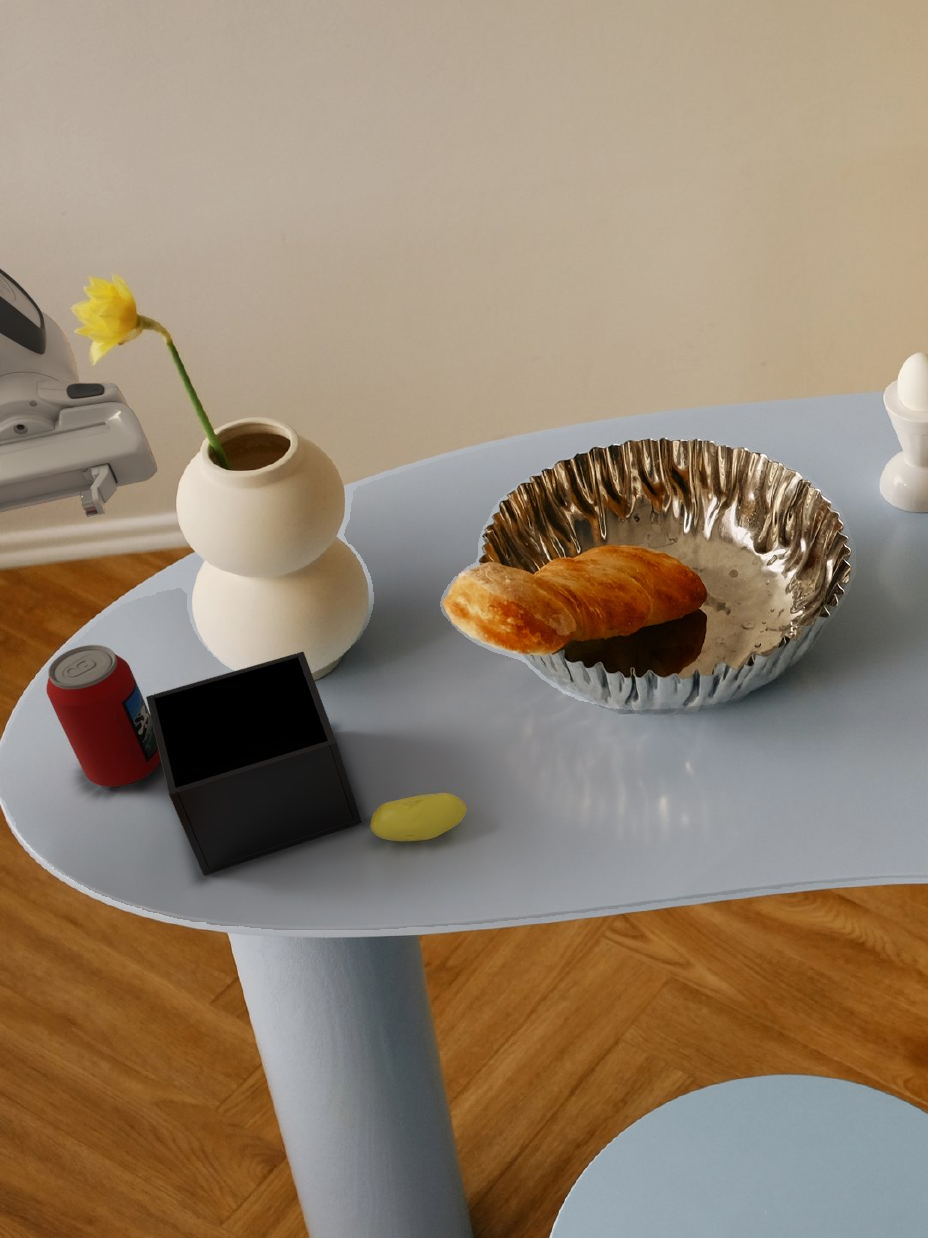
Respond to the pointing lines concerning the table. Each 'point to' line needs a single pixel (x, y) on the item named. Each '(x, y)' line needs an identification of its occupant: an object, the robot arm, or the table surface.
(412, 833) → the yellow oval lump
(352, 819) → the open black box
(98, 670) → the beverage can
